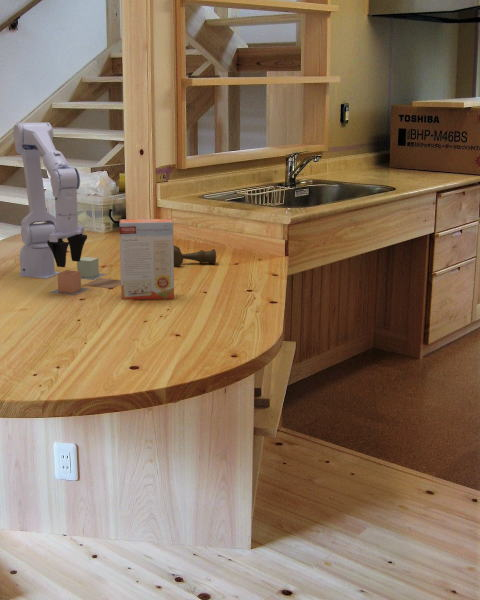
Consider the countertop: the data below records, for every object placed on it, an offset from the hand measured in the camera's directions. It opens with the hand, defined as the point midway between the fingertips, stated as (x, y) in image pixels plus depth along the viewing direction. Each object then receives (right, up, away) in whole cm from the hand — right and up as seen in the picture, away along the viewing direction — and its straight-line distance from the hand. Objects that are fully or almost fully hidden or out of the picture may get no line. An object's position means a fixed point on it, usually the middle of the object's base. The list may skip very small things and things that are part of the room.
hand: (68, 263), depth 214 cm
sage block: (+2, -3, +19) cm, 19 cm away
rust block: (0, -7, +2) cm, 7 cm away
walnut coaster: (+8, -5, +11) cm, 14 cm away
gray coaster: (+2, -3, +19) cm, 19 cm away
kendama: (+29, +1, +38) cm, 47 cm away
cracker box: (+22, -9, -2) cm, 24 cm away
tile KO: (0, -7, +2) cm, 8 cm away
